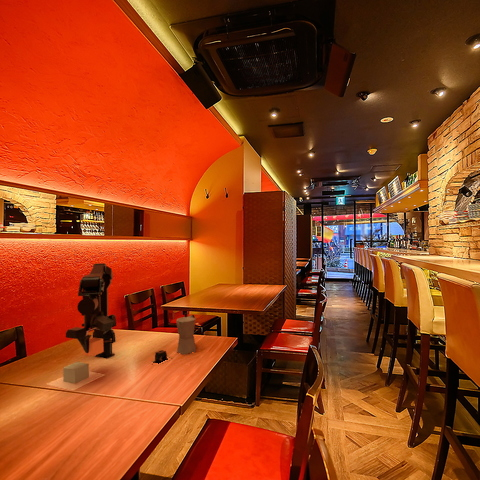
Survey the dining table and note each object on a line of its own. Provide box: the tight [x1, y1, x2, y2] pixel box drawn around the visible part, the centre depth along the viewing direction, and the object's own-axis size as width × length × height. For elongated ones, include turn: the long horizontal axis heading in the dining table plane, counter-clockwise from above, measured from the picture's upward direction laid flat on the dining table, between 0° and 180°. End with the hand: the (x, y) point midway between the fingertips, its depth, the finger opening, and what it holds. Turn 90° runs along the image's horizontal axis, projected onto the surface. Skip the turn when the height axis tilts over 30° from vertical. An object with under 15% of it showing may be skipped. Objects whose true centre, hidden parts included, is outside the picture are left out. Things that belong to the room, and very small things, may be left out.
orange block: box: [82, 337, 104, 357], centre depth 117 cm, size 5×5×5 cm
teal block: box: [62, 361, 90, 384], centre depth 115 cm, size 6×6×5 cm
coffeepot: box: [175, 312, 197, 355], centre depth 147 cm, size 15×9×18 cm, turn 162°
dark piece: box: [152, 349, 168, 364], centre depth 135 cm, size 12×7×5 cm, turn 145°
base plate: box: [45, 370, 106, 392], centre depth 115 cm, size 14×14×1 cm
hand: (93, 350), depth 117 cm, fingers closed on orange block, 5 cm apart
